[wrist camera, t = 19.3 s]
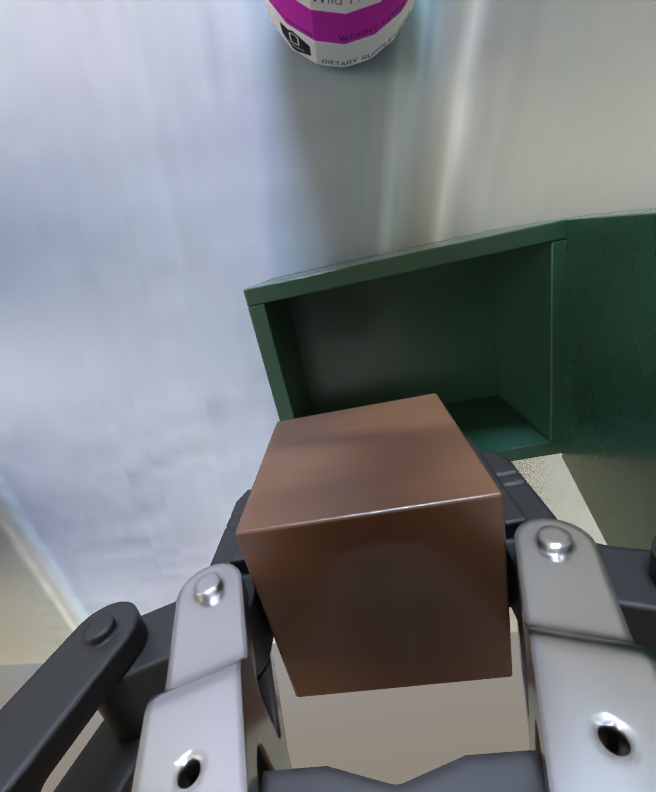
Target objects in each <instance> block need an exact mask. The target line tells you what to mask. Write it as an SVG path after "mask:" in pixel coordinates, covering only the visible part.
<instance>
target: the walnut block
mask: <svg viewBox="0 0 656 792" xmlns="http://www.w3.org/2000/svg"><path fill="white" fill-rule="evenodd" d="M235 535H236V538H237V541H238V544H239V546H240V549H241V551H242V554H243V557H244V559H245V562H246V565H247V567H248V570H249V573H250V575H251V578H252V580H253V583H254V586H255V588H256V591H257V594H258V596H259V599H260V601H261V604H262V607H263V609H264V612H265V615H266V617H267V620H268V623H269V625H270V628H271V630H272V633H273V636H274V638H275V641H276V644H277V646H278V649H279V651H280V654H281V657H282V659H283V662H284V664H285V667H286V670H287V673H288V675H289V678H290V680H291V683H292V686H293V688H294V691H295V694H296V696H298V697H305V696H315V695H325V694H336V693H346V692H356V691H367V690H377V689H387V688H398V687H408V686H418V685H429V684H439V683H450V682H460V681H471V680H481V679H491V678H502V677H510V676H512V658H511V638H510V618H509V599H508V579H507V559H506V539H505V520H504V500H503V493H502V492H501V490H500V489H499V487H498V486H497V484H496V483H495V481H494V480H493V478H492V477H491V475H490V474H489V472H488V471H487V469H486V468H485V466H484V465H483V463H482V462H481V460H480V459H479V457H478V456H477V454H476V453H475V451H474V450H473V448H472V447H471V445H470V444H469V442H468V441H467V439H466V438H465V436H464V435H463V433H462V432H461V430H460V429H459V427H458V426H457V424H456V422H455V421H454V419H453V418H452V416H451V415H450V413H449V412H448V410H447V409H446V407H445V406H444V404H443V403H442V401H441V400H440V398H439V397H438V395H437V394H435V393H434V394H428V395H423V396H417V397H412V398H406V399H400V400H395V401H389V402H384V403H378V404H373V405H367V406H362V407H356V408H351V409H345V410H340V411H334V412H329V413H323V414H317V415H312V416H306V417H301V418H295V419H290V420H284V421H279V422H277V424H276V426H275V429H274V432H273V434H272V437H271V440H270V442H269V445H268V448H267V450H266V453H265V456H264V458H263V461H262V464H261V466H260V469H259V471H258V474H257V477H256V479H255V482H254V485H253V487H252V490H251V493H250V495H249V498H248V501H247V503H246V506H245V509H244V511H243V514H242V516H241V519H240V522H239V524H238V527H237V530H236V533H235Z"/></svg>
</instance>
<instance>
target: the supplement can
mask: <svg viewBox="0 0 656 792" xmlns="http://www.w3.org/2000/svg"><path fill="white" fill-rule="evenodd" d="M264 2H265V5H266V8H267V10H268V13H269V15H270V18H271V21H272V23H273V25H274V27H275V28H276V29H277V30H278V32H279V33H280V34H281V35H282V37H283V38H284V39H285V40H286V42H287V43H288V44H289V45H290V47H291V48H292V49H293V50H294V51H296V52H297V53H299V54H301V55H302V56H304V57H306V58H307V59H309V60H311V61H312V62H314V63H316V64H317V65H326V66H334V67H343V68H345V67H348V66H351V65H354V64H357V63H360V62H363V61H366V60H369V59H371V58H373V57H374V56H375V55H376V54H377V53H379V52H380V51H381V50H382V49H383V48H384V47H386V46H387V45H388V44H389V43H390V42H392V41H393V40H394V39H395V37H396V36H397V34H398V32H399V31H400V29H401V28H402V26H403V24H404V23H405V21H406V19H407V18H408V16H409V14H410V13H411V11H412V10H413V6H414V3H415V0H264Z"/></svg>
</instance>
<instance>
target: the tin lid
mask: <svg viewBox="0 0 656 792" xmlns="http://www.w3.org/2000/svg"><path fill="white" fill-rule="evenodd" d="M562 458H563V459H564V461H565V463H566V465H567V467H568V469H569V471H570V473H571V475H572V477H573V479H574V481H575V483H576V485H577V487H578V489H579V491H580V493H581V495H582V496H583V498H584V500H585V502H586V504H587V506H588V508H589V510H590V512H591V514H592V516H593V518H594V520H595V522H596V524H597V526H598V528H599V530H600V531H601V533H602V535H603V537H604V539H605V541H606V543H607V545H608V546H614V547H624V548H634V549H644V550H651V545H652V540H653V539H654V537H655V536H656V208H650V209H640V210H630V211H620V212H609V213H599V214H589V215H584V216H579V217H574V218H570V219H567V244H566V294H565V344H564V395H563V445H562Z"/></svg>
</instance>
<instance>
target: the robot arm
mask: <svg viewBox="0 0 656 792" xmlns="http://www.w3.org/2000/svg"><path fill="white" fill-rule="evenodd" d="M465 438H466V439H467V441H468V442H469V444H470V445H471V447H472V448H473V450H474V451H475V453H476V454H477V456H478V457H479V459H480V460H481V462H482V463H483V465H484V466H485V468H486V469H487V471H488V472H489V474H490V475H491V477H492V478H493V480H494V481H495V483H496V484H497V486H498V487H499V489H500V490H501V492H502V493H503V500H504V520H505V539H506V559H507V579H508V599H509V607H511V608H512V610H513V612H514V614H515V616H516V618H517V620H518V638H519V648H520V657H521V667H522V675H523V685H524V695H525V704H526V714H527V723H528V733H529V745H530V750H529V751H515V752H503V753H491V754H479V755H478V754H477V755H465V756H463V757H461V758H459V759H457V760H454V761H452V762H450V763H448V764H446V765H443V766H441V767H439V768H436V769H435V770H432V771H430V772H428V773H426V774H423V775H421V776H419V777H416V778H414V779H412V780H410V781H408V782H405V783H403V784H397V785H393V784H388V783H385V782H381V781H378V780H374V779H370V778H367V777H363V776H360V775H356V774H353V773H349V772H346V771H342V770H339V769H335V768H331V767H328V766H324V767H310V768H299V769H292V766H291V763H290V758H289V754H288V749H287V743H286V737H285V729H284V723H283V717H282V709H281V703H280V696H279V690H278V683H277V676H276V669H275V663H274V658H273V655H272V653H271V647H272V642H273V637H274V636H273V633H272V630H271V628H270V625H269V623H268V620H267V617H266V615H265V612H264V609H263V607H262V604H261V601H260V599H259V596H258V594H257V591H256V588H255V586H254V583H253V580H252V578H251V575H250V573H249V570H248V567H247V565H246V562H245V559H244V557H243V554H242V551H241V549H240V546H239V544H238V541H237V538H236V535H235V533H236V530H237V527H238V524H239V522H240V519H241V516H242V514H243V511H244V509H245V506H246V503H247V501H248V498H249V495H250V493H251V490H247V492H246V493H245V494H244V495H243V496H242V497H241V498H240V499H239V500H238V501H237V502H236V505H235V507H234V510H233V512H232V514H231V518H230V519H229V522H228V524H227V528H226V529H225V531H224V534H223V536H222V538H221V541H220V543H219V546H218V548H217V550H216V553H215V555H214V558H213V560H212V563H211V565H210V566H209V567H207V568H205V569H203V570H201V571H199V572H198V573H196V574H195V575H194V576H193V577H191V578H190V579H189V580H188V581H187V582H186V584H185V585H184V586H183V587H182V589H181V591H180V592H179V595H178V597H177V601H176V602H174V603H171V604H169V605H167V606H164V607H162V608H159V609H157V610H154V611H152V612H150V613H147V614H145V615H142V616H141V615H140V613H139V611H138V609H137V608H136V606H135V605H134V604H132V603H130V602H118V603H114V604H111V605H108V606H106V607H104V608H102V609H100V610H99V611H97V612H95V613H94V614H92V615H91V616H90V617H88V618H87V619H86V620H85V621H84V622H83V623H82V624H80V625H79V626H78V627H77V629H76V630H75V631H74V632H73V633H72V634H71V635H70V636H69V637H68V638H67V639H66V640H65V641H64V642H63V644H62V645H61V646H60V647H59V648H58V649H57V650H56V651H55V652H54V653H53V654H52V655H51V656H50V657H49V659H48V660H47V661H46V662H45V663H44V664H43V665H42V666H41V667H40V668H39V669H38V670H37V671H36V672H35V674H34V675H33V676H32V677H31V678H30V679H29V680H28V681H27V682H26V683H25V684H24V685H23V686H22V687H21V688H20V690H19V691H18V692H17V693H16V694H15V695H14V696H13V697H12V698H11V699H10V700H9V701H8V702H7V703H6V705H5V706H4V707H3V708H2V709H1V710H0V792H41V789H42V787H43V785H44V783H45V782H46V779H47V778H48V777H49V775H50V773H51V772H52V771H53V770H54V768H55V767H56V765H57V764H58V763H59V761H60V760H61V759H62V757H63V756H64V755H65V753H66V752H67V750H68V749H69V748H70V746H71V745H72V744H73V742H74V741H75V740H76V738H77V737H78V735H79V734H80V733H81V731H82V730H83V729H84V727H85V726H86V725H87V723H88V722H89V720H90V719H91V718H92V716H93V715H94V714H95V712H96V711H97V710H98V711H99V712H100V714H101V716H102V717H103V718H104V721H103V722H102V723H101V725H100V726H99V728H98V729H97V731H96V732H95V734H94V735H93V736H92V738H91V739H90V740H89V742H88V743H87V745H86V746H85V748H84V749H83V750H82V752H81V754H80V755H79V756H78V757H77V759H76V760H75V762H74V763H73V765H72V766H71V767H70V769H69V770H68V772H67V773H66V775H65V776H64V777H63V779H62V780H61V782H60V783H59V785H58V786H57V787H56V789H55V790H54V792H656V536H655V537H654V539H653V540H652V545H651V550H644V549H634V548H624V547H614V546H607V545H602V544H598V543H595V541H594V540H593V539H592V537H591V536H590V535H589V534H587V533H586V532H585V531H583V530H582V529H581V528H579V527H577V526H575V525H573V524H570V523H568V522H565V521H561V520H557V518H556V517H555V516H554V515H553V513H552V512H551V511H550V510H549V508H548V507H547V506H546V505H545V503H544V502H543V501H542V500H541V498H540V497H539V496H538V495H537V494H536V492H535V491H534V490H533V489H532V487H531V486H530V485H529V484H528V483H527V482H526V480H525V479H524V477H523V476H522V475H521V474H520V473H519V472H518V470H517V469H516V468H515V466H514V465H513V464H512V463H511V461H510V460H509V459H507V458H506V457H504V456H502V455H500V454H498V453H496V452H495V451H489V452H482V453H481V451H480V450H479V449H478V447H477V446H476V444H475V443H474V441H473V440H472V439H471V438H470V437H465Z"/></svg>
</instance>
